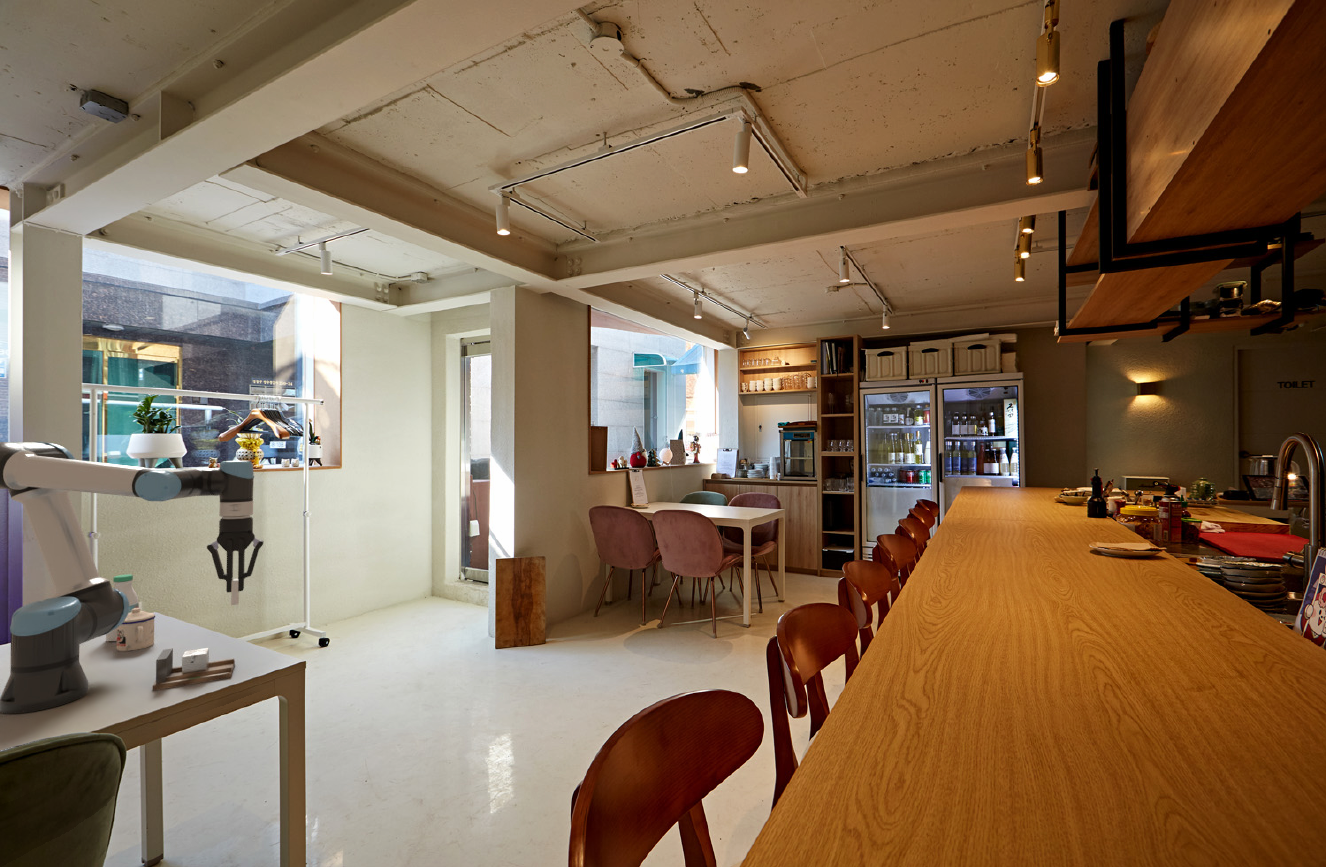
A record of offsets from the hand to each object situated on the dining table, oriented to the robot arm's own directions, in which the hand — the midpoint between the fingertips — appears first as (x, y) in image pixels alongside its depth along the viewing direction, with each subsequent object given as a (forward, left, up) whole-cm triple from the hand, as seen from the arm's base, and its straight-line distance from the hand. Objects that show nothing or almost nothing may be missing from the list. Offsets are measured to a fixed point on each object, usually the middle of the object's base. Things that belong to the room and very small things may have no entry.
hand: (235, 603), depth 164 cm
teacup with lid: (-27, +38, -18) cm, 51 cm away
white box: (-8, -2, -17) cm, 19 cm away
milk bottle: (-33, +52, -18) cm, 65 cm away
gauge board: (-8, 0, -18) cm, 20 cm away
